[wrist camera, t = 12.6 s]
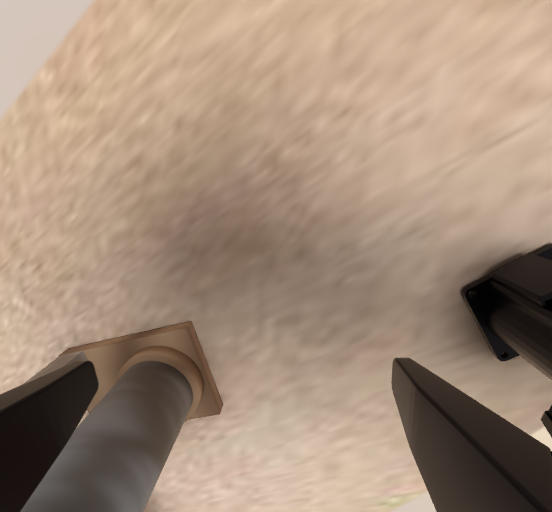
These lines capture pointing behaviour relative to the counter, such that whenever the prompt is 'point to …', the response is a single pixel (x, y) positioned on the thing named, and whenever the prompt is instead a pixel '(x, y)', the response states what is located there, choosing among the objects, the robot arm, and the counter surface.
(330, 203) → the counter surface
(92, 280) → the counter surface
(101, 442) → the ball
